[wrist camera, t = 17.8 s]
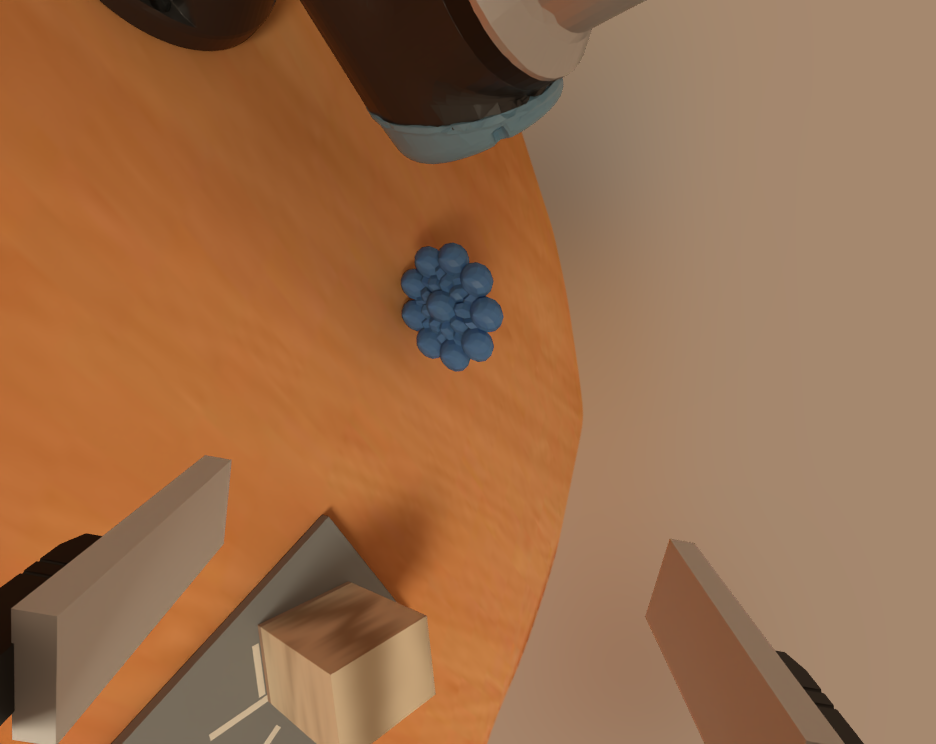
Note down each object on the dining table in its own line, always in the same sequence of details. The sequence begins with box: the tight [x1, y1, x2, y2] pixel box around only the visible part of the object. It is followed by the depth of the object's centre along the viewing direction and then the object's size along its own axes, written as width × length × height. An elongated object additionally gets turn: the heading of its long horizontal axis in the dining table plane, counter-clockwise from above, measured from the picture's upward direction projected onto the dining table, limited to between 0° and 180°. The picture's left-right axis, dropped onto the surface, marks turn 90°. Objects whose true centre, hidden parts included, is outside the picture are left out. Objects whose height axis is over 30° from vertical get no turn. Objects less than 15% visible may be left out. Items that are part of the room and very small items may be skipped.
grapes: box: [401, 243, 503, 371], centre depth 48 cm, size 12×7×12 cm, turn 7°
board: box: [111, 515, 396, 744], centre depth 41 cm, size 22×14×1 cm, turn 129°
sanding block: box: [258, 581, 435, 744], centre depth 39 cm, size 8×6×10 cm
